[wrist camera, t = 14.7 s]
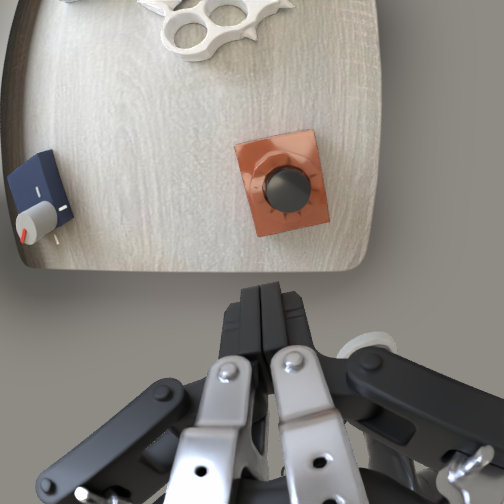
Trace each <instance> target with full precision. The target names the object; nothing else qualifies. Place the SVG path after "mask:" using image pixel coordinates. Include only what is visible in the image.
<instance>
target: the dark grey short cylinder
mask: <svg viewBox="0 0 504 504" xmlns="http://www.w3.org/2000/svg"><path fill="white" fill-rule="evenodd" d="M266 193H267V198H268V200H269V202H270V204H271V205H272V206H273V207H274V208H275V209H276V210H278V211H281V212H284V213H293V212H296V211H299V210H300V209H302V208H303V207H304V206H305V205H306V204H307V202H308V200H309V198H310V194H311V189H310V184H309V182H308V180H307V179H306V178H305V177H304V175H303V174H302V173H300V172H299V171H298V170H296V169H293V168H288V167H285V168H280V169H278V170H276V171H274V172H273V173H272V174H271V175H270V176H269V178H268V180H267V183H266Z"/></svg>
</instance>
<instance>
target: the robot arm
mask: <svg viewBox="0 0 504 504" xmlns="http://www.w3.org/2000/svg"><path fill="white" fill-rule="evenodd" d="M223 323H224V324H223V327H222V330H223V332H222V335H221V343H220V351H219V359H218V360H217V361H216V362H215V363H213V364H212V366H211V367H210V368H209V370H208V373H207V376H206V377H205V378H203V379H201V380H198V381H196V382H193V383H190V384H187V385H184V386H183V385H182V383H181V382H180V381H178V380H177V379H174V378H164V379H160V380H158V381H156V382H154V383H153V384H152V385H150V386H149V387H148V388H147V389H146V390H145V391H143V392H142V393H141V394H140V395H139V396H138V397H136V398H135V399H134V400H133V401H132V402H130V403H129V404H128V405H127V406H126V407H124V408H123V409H122V410H121V411H120V412H118V413H117V414H116V415H115V416H113V417H112V418H111V419H110V420H109V421H107V422H106V423H105V424H104V425H102V426H101V427H100V428H99V429H97V430H96V431H95V432H94V433H93V434H91V435H90V436H89V437H87V438H86V439H85V440H84V441H82V442H81V443H80V444H79V445H77V446H76V447H75V448H73V449H72V450H71V451H70V452H68V453H67V454H66V455H65V456H63V457H62V458H60V459H59V460H58V461H57V462H55V463H54V464H52V465H51V466H50V467H48V468H47V469H46V470H44V471H43V472H42V473H41V474H40V475H39V476H38V478H37V480H36V493H37V496H38V497H39V499H40V500H41V501H42V502H43V503H45V504H142V503H144V502H145V501H146V500H147V499H149V498H150V497H151V496H152V495H153V494H155V493H156V492H157V491H158V490H160V489H161V488H162V487H163V486H164V485H165V484H167V483H168V482H169V483H168V488H167V492H166V493H164V494H163V495H162V496H161V497H159V498H158V499H157V500H156V501H155V502H154V503H153V504H502V503H503V501H504V399H502V398H499V397H497V396H494V395H492V394H489V393H487V392H484V391H482V390H479V389H477V388H474V387H472V386H469V385H466V384H464V383H462V382H459V381H457V380H455V379H452V378H450V377H447V376H445V375H443V374H440V373H437V372H436V371H433V370H431V369H429V368H426V367H424V366H422V365H419V364H417V363H415V362H412V361H410V360H408V359H406V358H403V357H401V356H399V355H397V354H394V353H392V351H391V349H390V348H389V347H388V346H386V345H381V344H377V345H371V346H367V347H363V348H360V349H358V350H356V351H354V352H353V353H352V354H351V355H350V356H349V358H330V357H327V356H324V355H322V354H320V353H319V352H318V351H317V350H316V349H315V347H314V345H313V341H312V337H311V333H310V329H309V325H308V321H307V317H306V313H305V309H304V305H303V301H302V298H301V297H300V296H299V295H298V294H297V293H296V292H295V291H292V292H287V293H281V289H280V285H279V282H273V283H268V284H263V285H261V288H260V286H259V285H258V286H253V287H249V288H243V289H241V297H240V302H236V303H231V304H230V305H229V307H228V308H227V310H226V311H225V313H224V321H223ZM269 394H275V397H276V403H277V409H278V415H279V424H278V428H279V436H280V441H281V448H282V454H283V461H284V467H283V468H282V470H281V476H283V472H284V469H285V473H286V476H283V477H280V478H277V479H274V480H270V481H269V466H268V461H267V452H268V432H269V409H268V395H269ZM343 420H344V421H343ZM347 421H348V422H349V423H350V424H351V425H353V426H355V427H356V428H358V429H359V430H361V431H363V435H364V438H365V442H366V446H367V450H368V455H369V463H368V469H366V468H359V467H358V466H357V462H356V459H355V456H354V453H353V450H352V447H351V443H350V440H349V437H348V434H347V431H346V428H345V425H344V424H345V423H346V422H347ZM167 429H168V430H167ZM166 430H167V431H166ZM165 431H166V432H165ZM164 432H165V433H164ZM163 433H164V434H163ZM162 434H163V435H162ZM157 438H158V439H157ZM156 439H157V440H156ZM155 440H156V441H155ZM154 441H155V442H154ZM153 442H154V443H153ZM150 444H151V445H150ZM149 445H150V446H149ZM148 446H149V447H148ZM147 447H148V448H147ZM146 448H147V449H146ZM414 460H415V461H417V462H419V463H421V464H423V465H425V466H427V467H429V468H427V469H423V470H420V471H417V472H416V471H415V466H414Z"/></svg>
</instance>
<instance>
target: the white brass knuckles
mask: <svg viewBox="0 0 504 504" xmlns="http://www.w3.org/2000/svg"><path fill="white" fill-rule="evenodd" d="M181 1H182V0H138V1H137V2H138V3H139V4H140V5H142V6H144V7H145V8H147V9H149V10H151V11H153V12H155V13H157V14H159V15H162V16H164V17H166V20H165V21H164V23H163V26H162V29H161V39H162V42H163V44H164V45H165V47H166V48H167V49H168V50H170V51H171V52H172V53H173V54H174V55H176V56H177V57H178V58H180V59H182V60H185V61H190V62H198V61H203V60H207V59H209V58H211V57H212V56H213V54H214V52H215V51H216V50H217V49H218V48H219V47H220V46H222V45H223V44H225V43H227V42H230V41H234V40H241V39H243V38H244V37H248V38H250V39H253V40H255V41H258V40H257V35H256V30H257V26H258V24H259V23H260V22H261V21H262V20H263V19H264V18H265V17H267V16H269V15H272V14H276V13H277V11H278V10H279V8H295V7H294V6H293V5H292V4H291V3H290V2H289V1H288V0H201V1H200V2H199V3H198V4H197V5H196V6H194V7H192V8H186V9H181V10H178V11H174V10H173V9H174V8H175V7H176V6H177V5H178V4H179V3H180V2H181ZM223 5H234V6H237V7H239V8H240V9H242V11H243V12H244V13H245V14H246V15H247V17H246V18H245V20H244V21H243V22H241V23H240V24H238V25H235V26H230V27H223V26H219V25H216V24H215V23H213V22H212V21H211V19H210V14H211V13H212V11H213V10H215V9H216V8H217V7H220V6H223ZM188 23H200V24H202V25H203V26H205V27H206V29H207V30H208V31H207V35H206V37H205V39H204V40H203V41H202V42H201V43H200V44H199V45H197V46H195V47H192V48H188V49H182V48H178V47H177V46H176V45H175V43H174V36H175V33H176V32H177V30H178V29H179V28H180V27H182V26H183V25H185V24H188Z"/></svg>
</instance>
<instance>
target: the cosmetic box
mask: <svg viewBox="0 0 504 504" xmlns="http://www.w3.org/2000/svg"><path fill="white" fill-rule="evenodd" d="M60 1H62V2H65V3H69V2H73V1H77V0H60Z"/></svg>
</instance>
